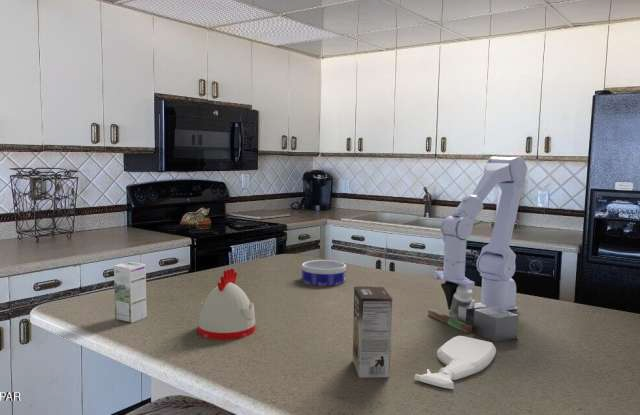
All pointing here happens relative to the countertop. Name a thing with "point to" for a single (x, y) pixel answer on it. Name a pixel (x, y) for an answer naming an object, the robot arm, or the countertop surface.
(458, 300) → the pill bottle
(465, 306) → the small grey block
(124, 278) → the syrup box
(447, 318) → the gauge rails
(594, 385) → the countertop surface
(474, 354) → the spray bottle
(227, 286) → the kitchen timer
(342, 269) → the dog bowl
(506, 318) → the block
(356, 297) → the coffee box
